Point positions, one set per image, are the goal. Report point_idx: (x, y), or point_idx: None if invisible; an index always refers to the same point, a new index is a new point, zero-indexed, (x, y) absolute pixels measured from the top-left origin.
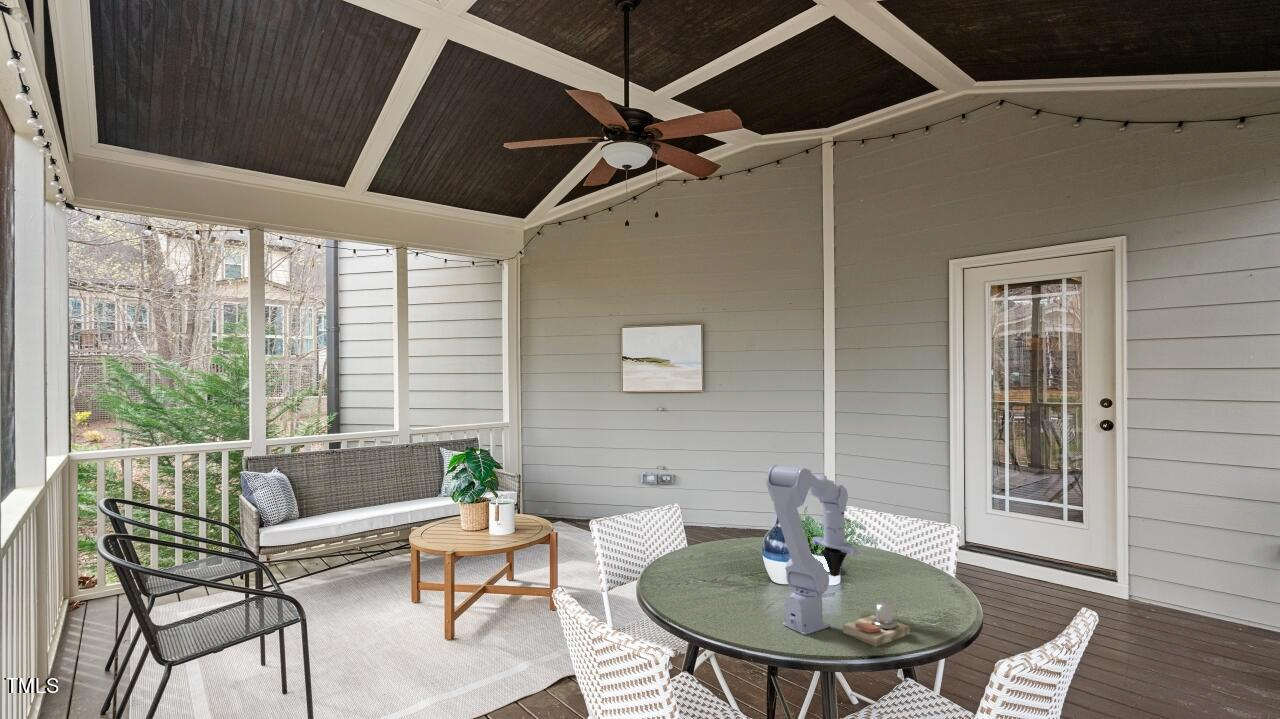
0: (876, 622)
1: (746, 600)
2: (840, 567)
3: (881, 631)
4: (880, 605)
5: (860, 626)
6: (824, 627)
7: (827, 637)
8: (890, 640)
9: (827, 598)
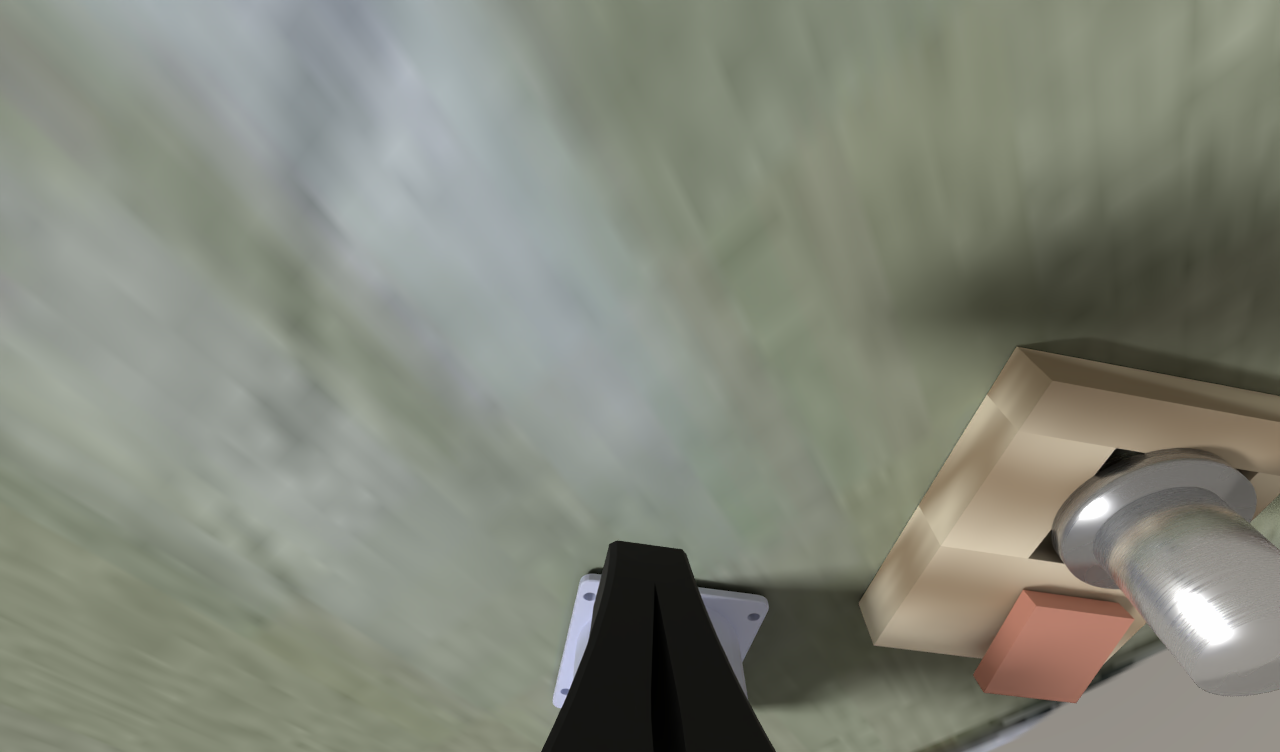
0: (1096, 569)
1: (113, 591)
2: (721, 659)
3: (1122, 597)
4: (1234, 681)
5: (1016, 693)
6: (754, 635)
7: (808, 673)
8: None
9: (413, 145)
